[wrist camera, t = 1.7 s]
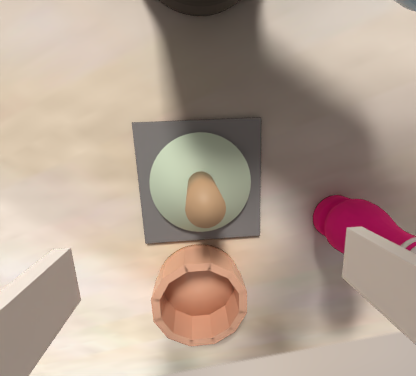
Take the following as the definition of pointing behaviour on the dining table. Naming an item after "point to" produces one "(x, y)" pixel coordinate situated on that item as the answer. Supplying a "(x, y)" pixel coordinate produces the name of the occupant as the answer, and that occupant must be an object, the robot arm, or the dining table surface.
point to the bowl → (199, 296)
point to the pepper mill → (357, 222)
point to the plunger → (200, 182)
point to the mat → (169, 130)
